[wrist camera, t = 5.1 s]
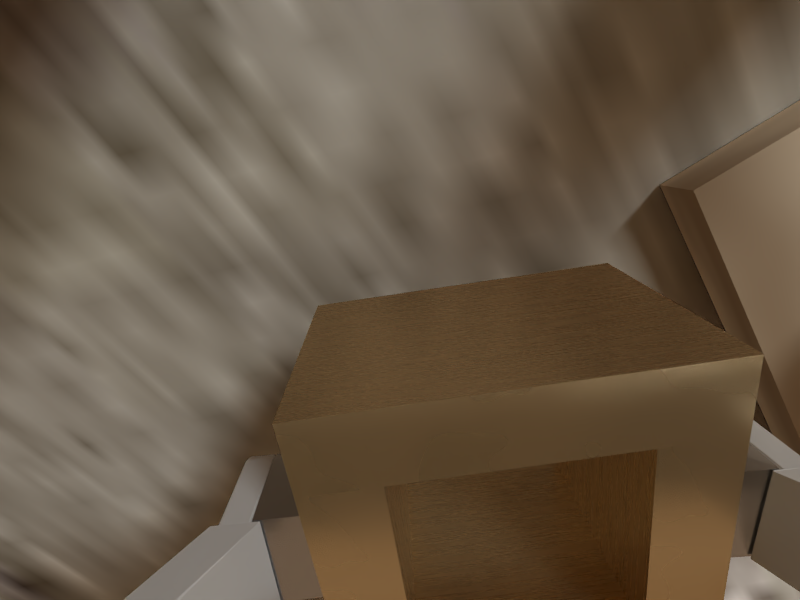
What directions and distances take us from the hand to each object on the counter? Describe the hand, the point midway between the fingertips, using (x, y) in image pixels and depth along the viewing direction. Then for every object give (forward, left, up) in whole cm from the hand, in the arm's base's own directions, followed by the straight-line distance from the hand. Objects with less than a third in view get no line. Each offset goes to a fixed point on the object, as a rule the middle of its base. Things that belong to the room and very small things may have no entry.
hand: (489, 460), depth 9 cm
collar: (0, 0, -2) cm, 2 cm away
